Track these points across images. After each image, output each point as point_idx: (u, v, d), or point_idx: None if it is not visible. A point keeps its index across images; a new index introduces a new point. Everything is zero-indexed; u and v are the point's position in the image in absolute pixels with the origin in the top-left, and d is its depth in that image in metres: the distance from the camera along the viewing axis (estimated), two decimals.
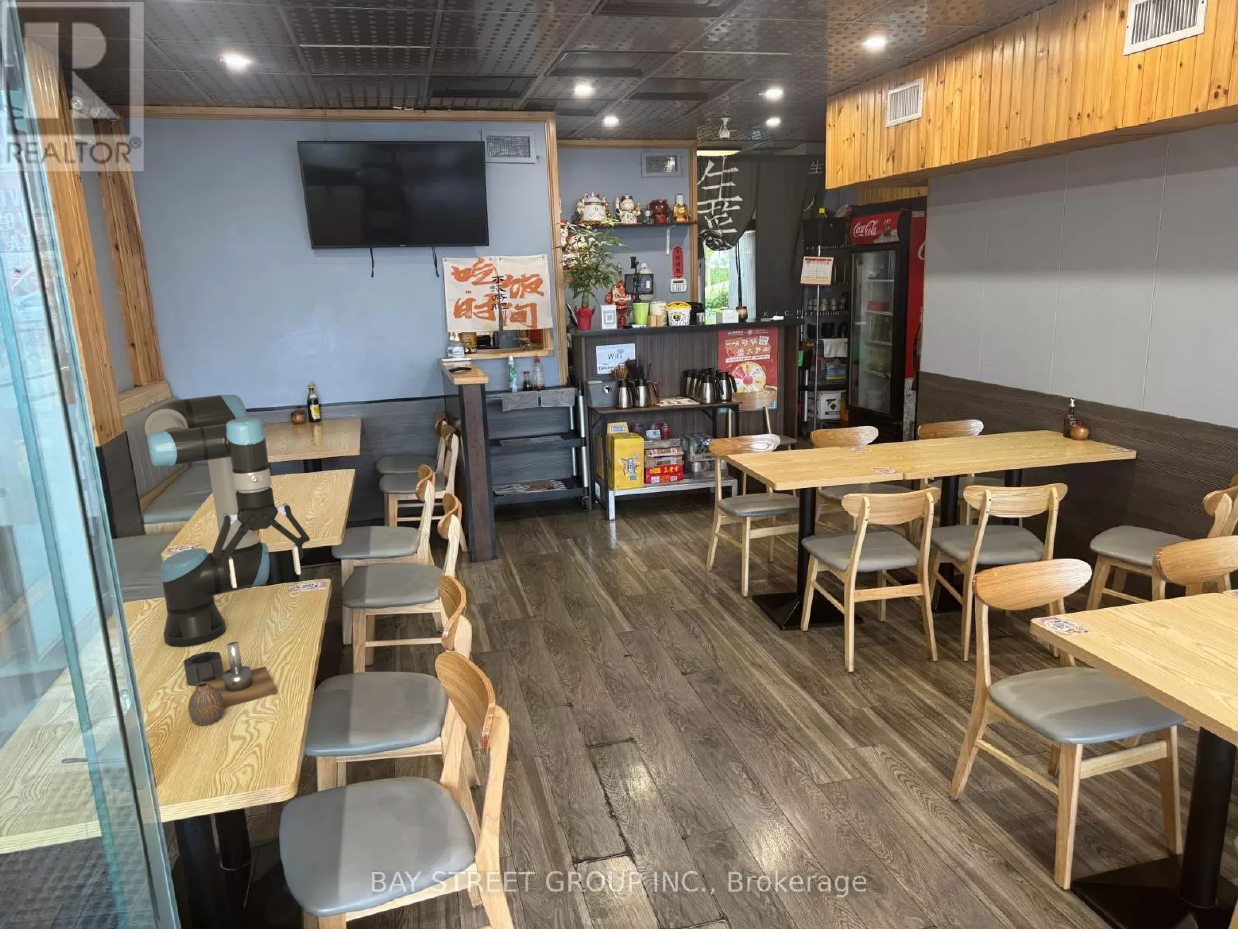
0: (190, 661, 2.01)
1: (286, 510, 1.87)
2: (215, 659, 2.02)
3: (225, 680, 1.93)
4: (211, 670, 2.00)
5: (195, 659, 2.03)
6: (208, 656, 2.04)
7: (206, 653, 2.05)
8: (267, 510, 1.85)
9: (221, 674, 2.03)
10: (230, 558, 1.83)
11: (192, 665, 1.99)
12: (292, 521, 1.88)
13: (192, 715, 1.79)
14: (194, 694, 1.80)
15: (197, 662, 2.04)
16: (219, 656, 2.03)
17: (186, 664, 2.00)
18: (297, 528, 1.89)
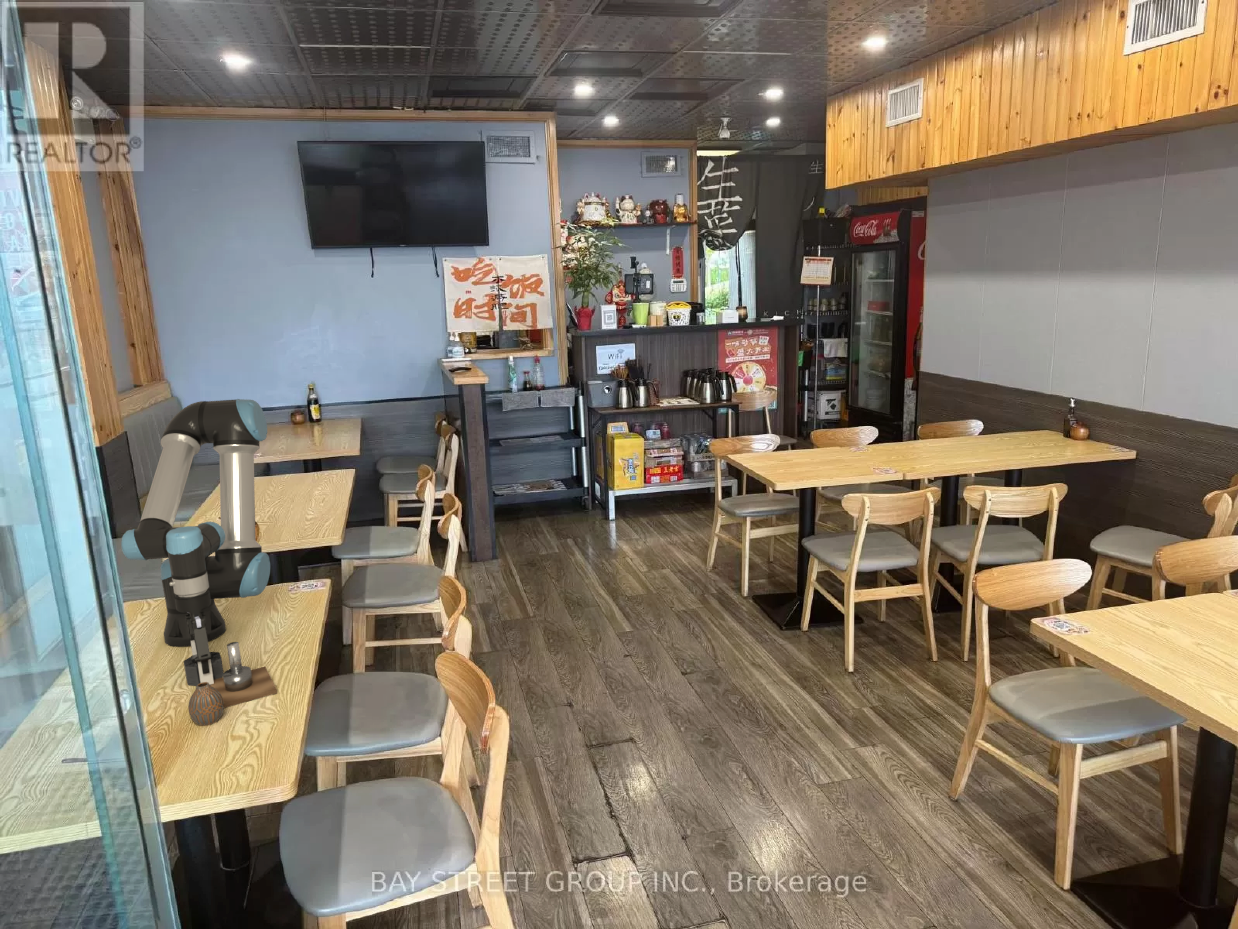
0: (190, 661, 2.01)
1: (192, 623, 1.94)
2: (215, 659, 2.02)
3: (225, 680, 1.93)
4: None
5: None
6: None
7: None
8: (190, 616, 1.97)
9: (221, 674, 2.03)
10: None
11: (192, 665, 1.99)
12: (194, 636, 1.94)
13: (192, 715, 1.79)
14: (194, 694, 1.80)
15: (197, 662, 2.04)
16: (219, 656, 2.03)
17: (186, 664, 2.00)
18: (196, 644, 1.93)
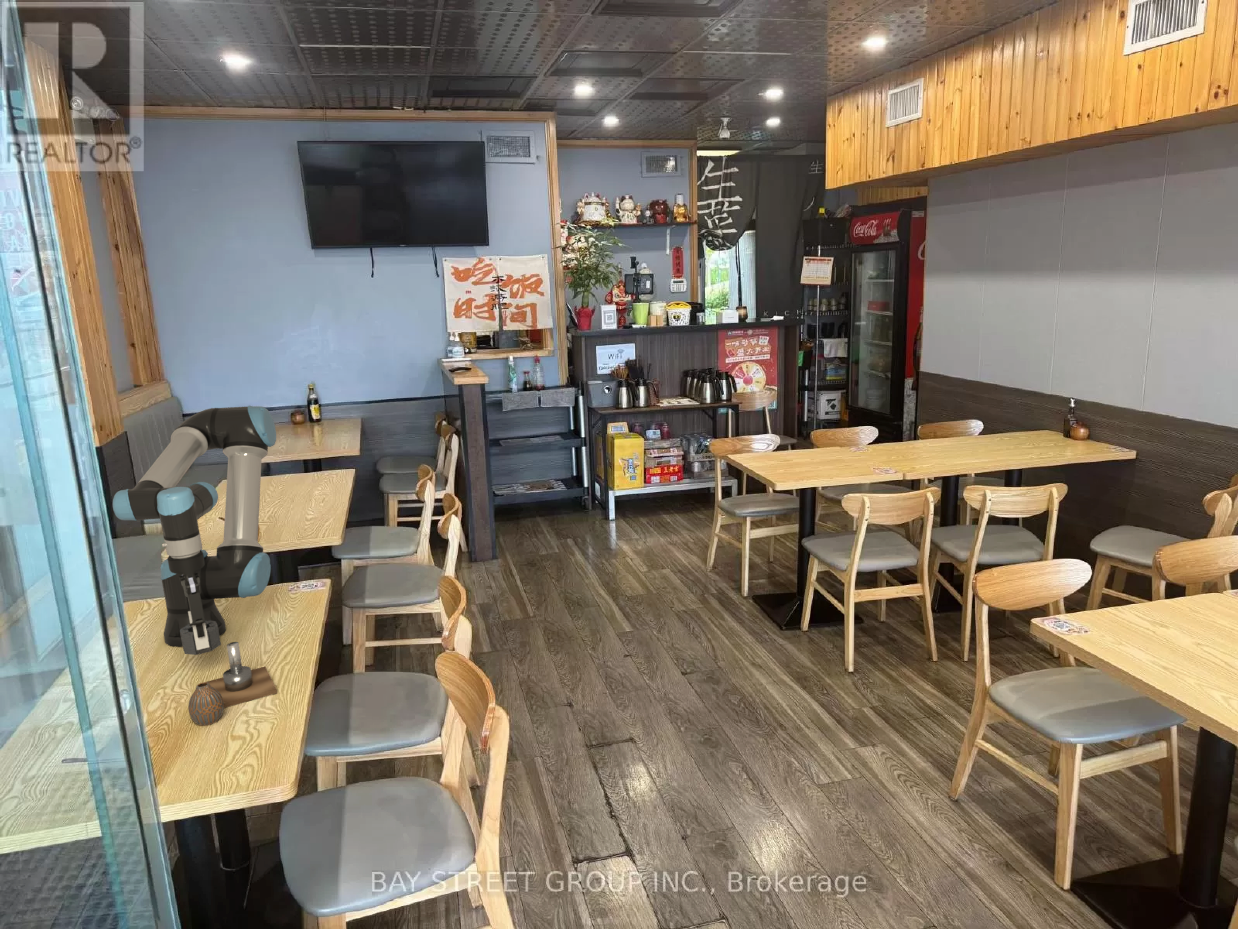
0: (186, 630, 2.00)
1: None
2: (211, 628, 2.00)
3: (225, 680, 1.93)
4: None
5: (191, 628, 2.02)
6: None
7: None
8: (184, 576, 1.95)
9: (218, 643, 2.02)
10: None
11: (188, 634, 1.98)
12: (188, 600, 1.93)
13: (192, 715, 1.79)
14: (194, 694, 1.80)
15: None
16: (215, 625, 2.02)
17: (182, 633, 1.98)
18: (190, 608, 1.93)
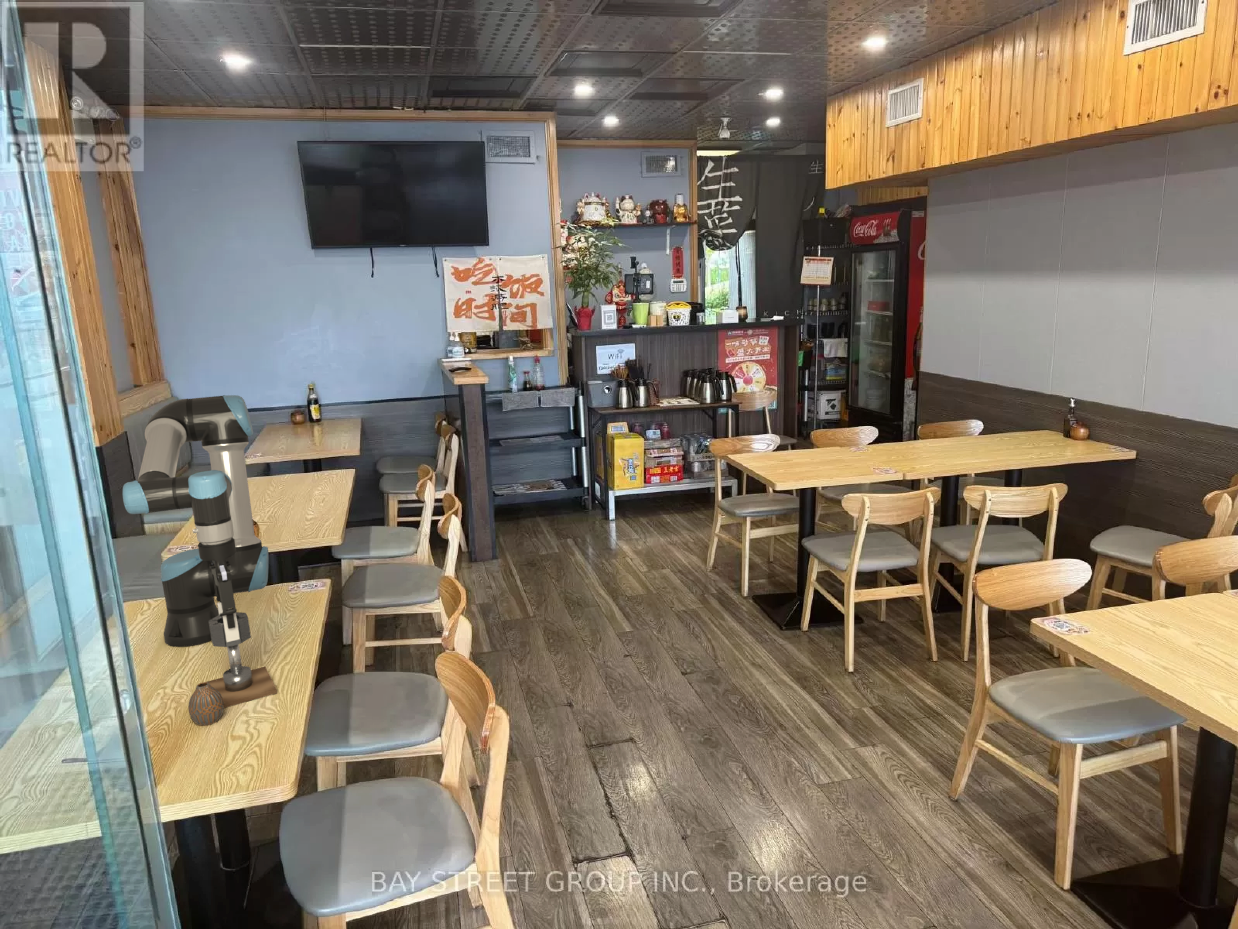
0: (215, 621, 1.91)
1: (217, 576, 1.84)
2: (242, 619, 1.92)
3: (225, 680, 1.93)
4: None
5: (220, 619, 1.93)
6: None
7: None
8: (215, 564, 1.87)
9: (248, 635, 1.93)
10: None
11: (218, 625, 1.89)
12: (219, 588, 1.85)
13: (192, 715, 1.79)
14: (194, 694, 1.80)
15: (222, 622, 1.94)
16: (246, 616, 1.93)
17: (211, 624, 1.90)
18: (221, 597, 1.85)
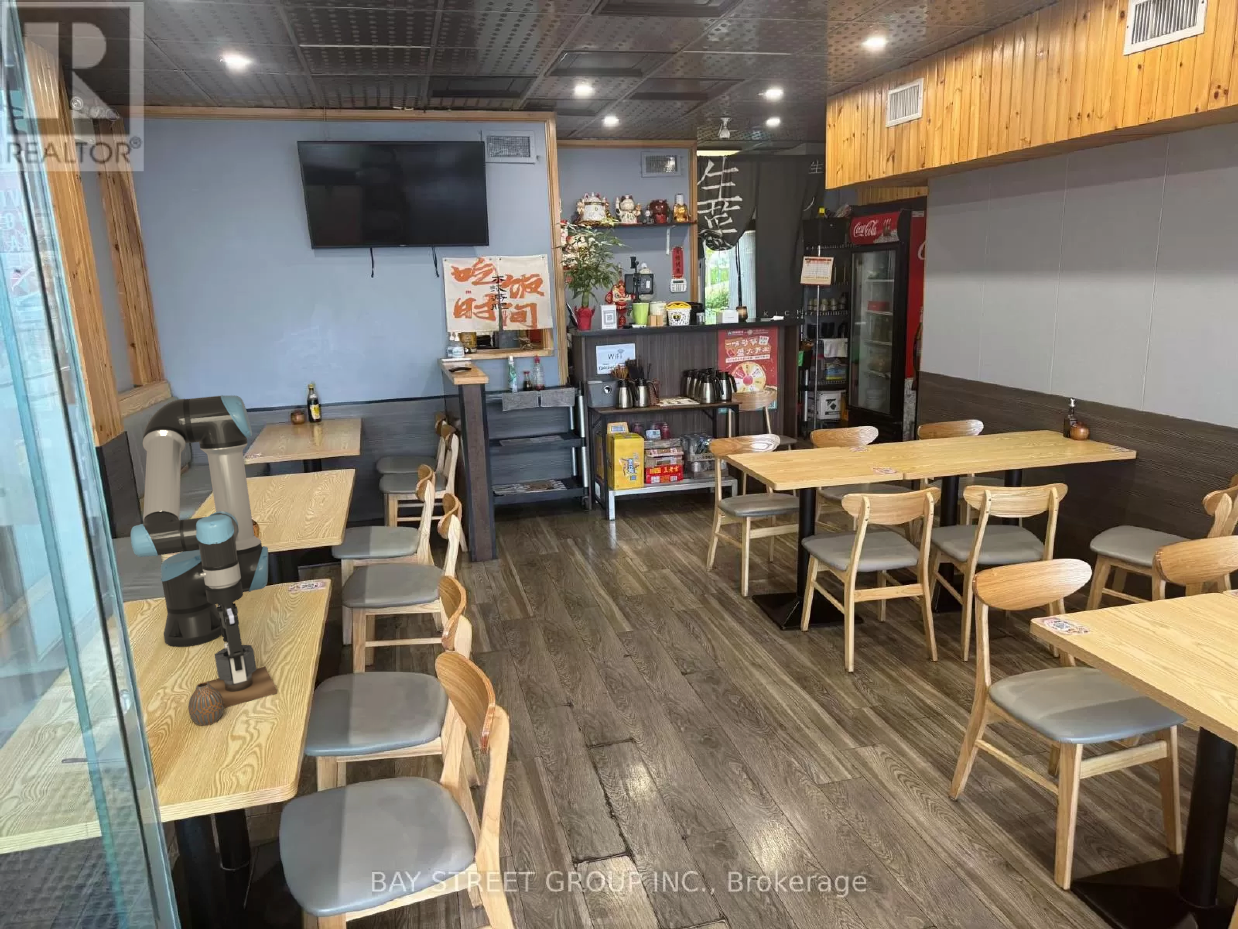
0: (221, 654, 1.93)
1: (225, 619, 1.86)
2: (247, 652, 1.94)
3: (225, 680, 1.93)
4: None
5: (226, 652, 1.95)
6: None
7: None
8: (222, 607, 1.89)
9: (253, 668, 1.95)
10: None
11: (224, 658, 1.91)
12: (227, 632, 1.87)
13: (192, 715, 1.79)
14: (194, 694, 1.80)
15: None
16: (251, 649, 1.95)
17: (217, 657, 1.92)
18: (228, 640, 1.87)
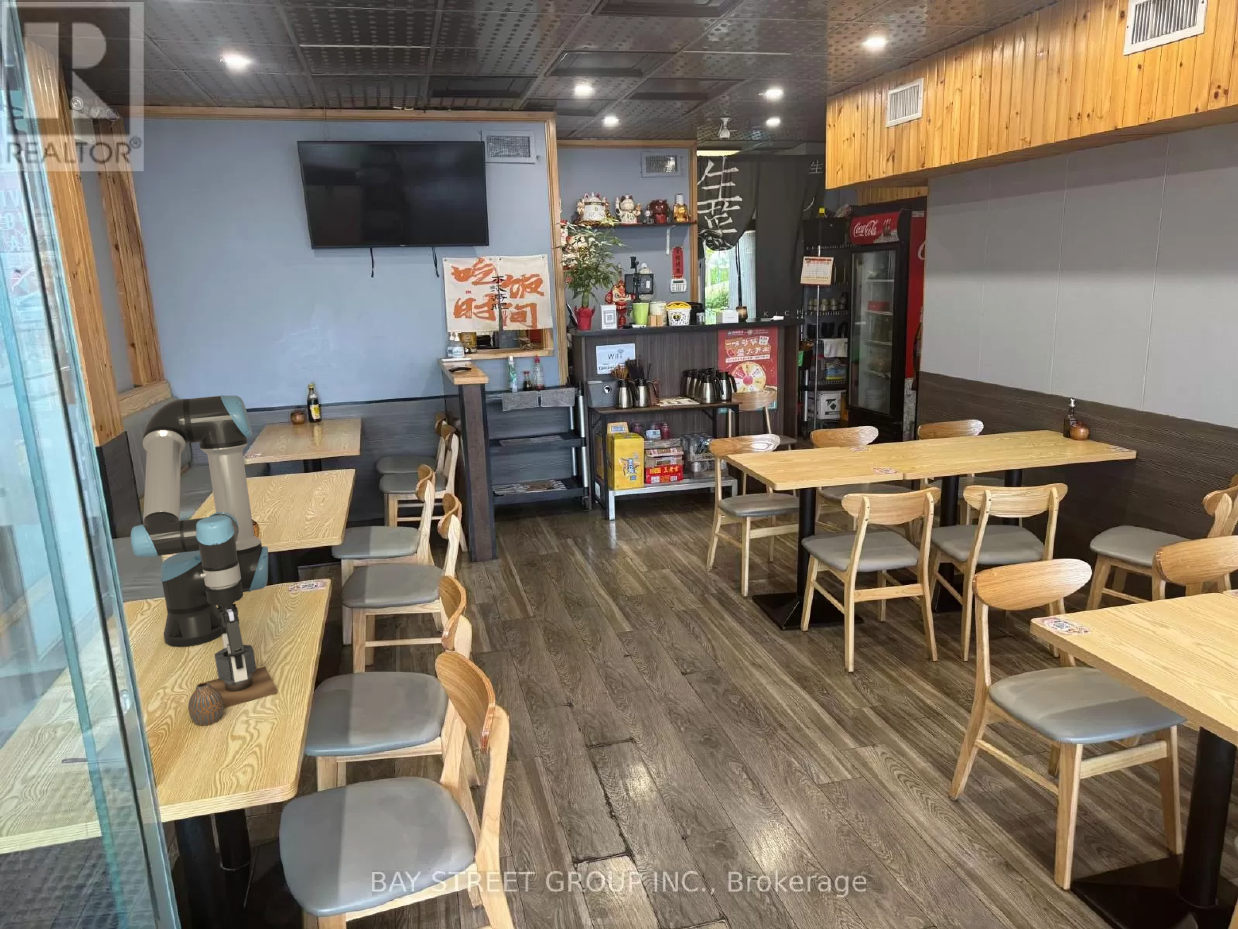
0: (221, 654, 1.93)
1: (225, 617, 1.86)
2: (247, 652, 1.94)
3: (225, 680, 1.93)
4: None
5: (226, 652, 1.95)
6: None
7: None
8: (222, 608, 1.89)
9: (253, 668, 1.95)
10: (227, 633, 1.99)
11: (224, 658, 1.91)
12: (227, 630, 1.86)
13: (192, 715, 1.79)
14: (194, 694, 1.80)
15: None
16: (251, 649, 1.95)
17: (217, 657, 1.92)
18: (229, 639, 1.86)
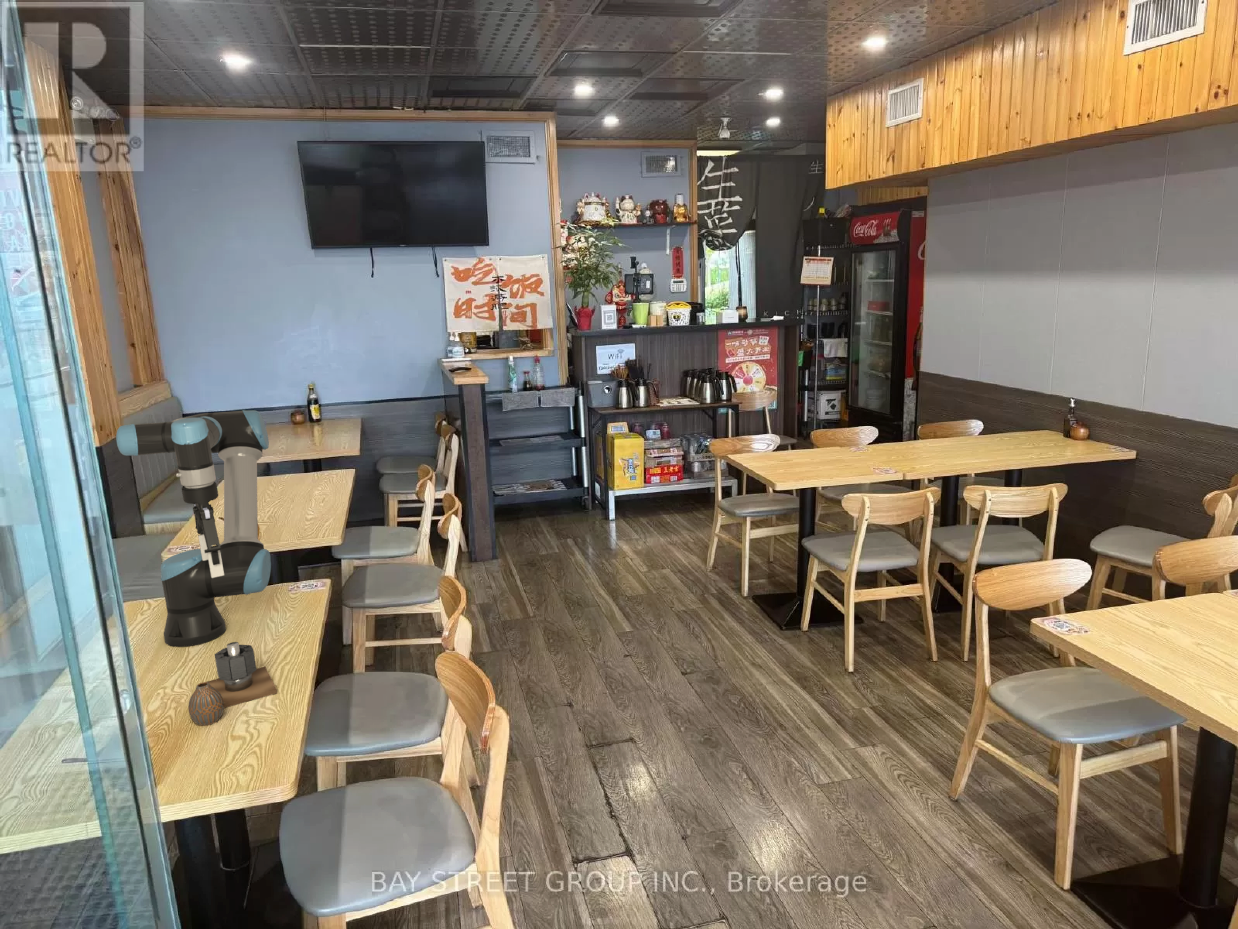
0: (221, 654, 1.93)
1: (201, 514, 1.93)
2: (247, 652, 1.94)
3: (225, 680, 1.93)
4: (243, 664, 1.92)
5: (226, 652, 1.95)
6: (240, 649, 1.96)
7: None
8: (198, 507, 1.96)
9: (253, 668, 1.95)
10: (203, 534, 2.06)
11: (224, 658, 1.91)
12: (203, 527, 1.93)
13: (192, 715, 1.79)
14: (194, 694, 1.80)
15: None
16: (251, 649, 1.95)
17: (217, 657, 1.92)
18: (205, 535, 1.93)
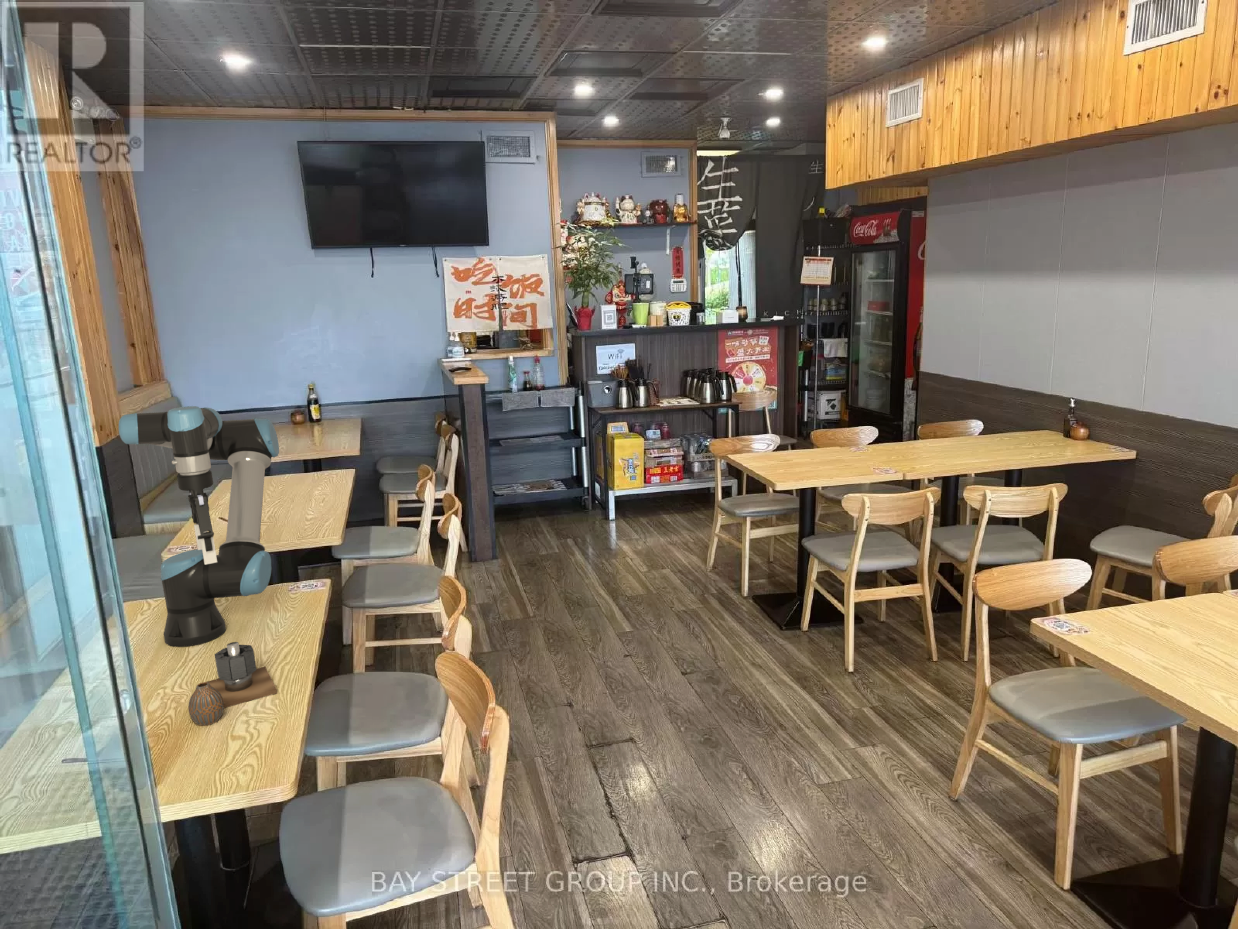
0: (221, 654, 1.93)
1: (195, 501, 1.95)
2: (247, 652, 1.94)
3: (225, 680, 1.93)
4: (243, 664, 1.92)
5: (226, 652, 1.95)
6: (240, 649, 1.96)
7: None
8: (193, 494, 1.98)
9: (253, 668, 1.95)
10: (198, 524, 2.08)
11: (224, 658, 1.91)
12: (197, 513, 1.95)
13: (192, 715, 1.79)
14: (194, 694, 1.80)
15: None
16: (251, 649, 1.95)
17: (217, 657, 1.92)
18: (199, 521, 1.95)
